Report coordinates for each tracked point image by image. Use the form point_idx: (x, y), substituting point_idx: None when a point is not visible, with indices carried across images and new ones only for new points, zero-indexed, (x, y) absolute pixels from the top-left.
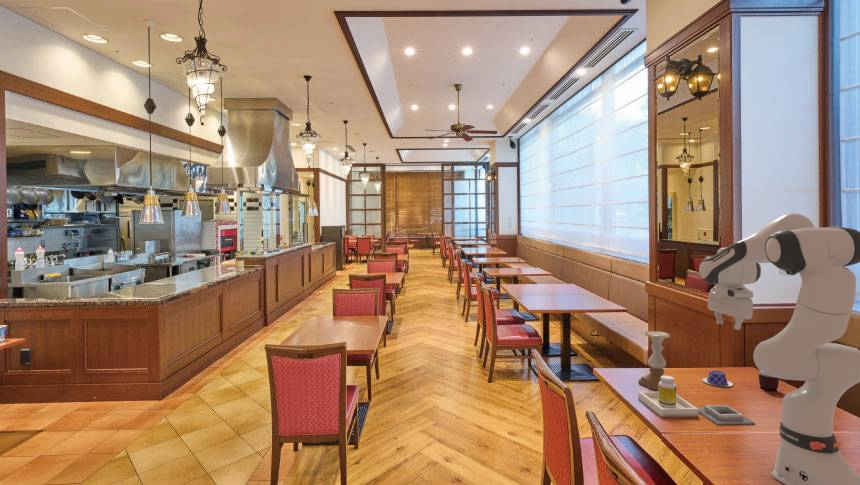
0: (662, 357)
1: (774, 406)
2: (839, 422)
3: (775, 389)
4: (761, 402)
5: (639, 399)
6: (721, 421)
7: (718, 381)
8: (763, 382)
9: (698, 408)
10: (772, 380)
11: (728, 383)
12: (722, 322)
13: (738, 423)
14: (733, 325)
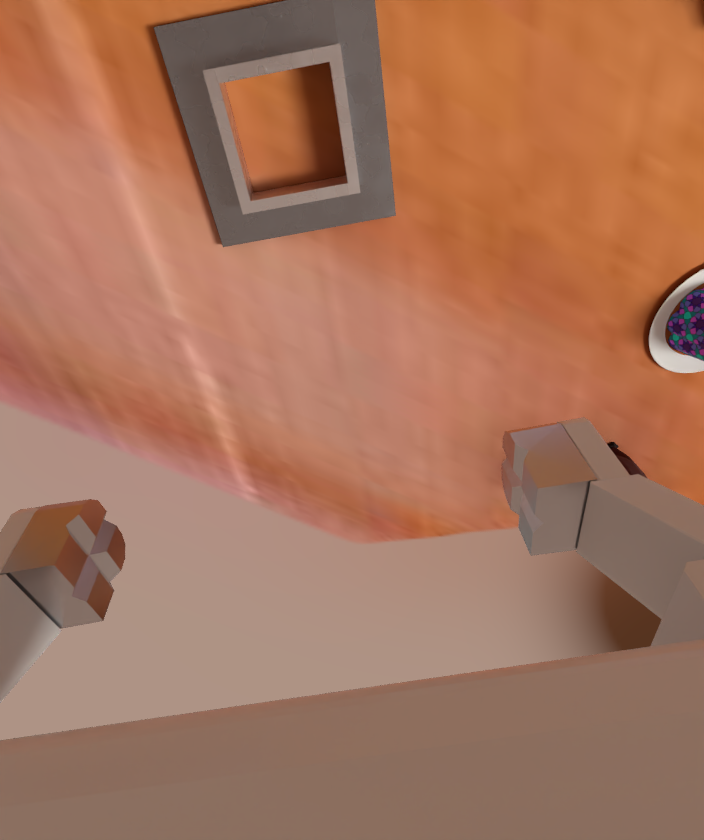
0: None
1: (432, 405)
2: (316, 505)
3: None
4: (471, 381)
5: None
6: (189, 72)
7: (693, 316)
8: None
9: (361, 14)
10: None
11: (687, 358)
12: (512, 496)
13: (197, 163)
14: (57, 540)
